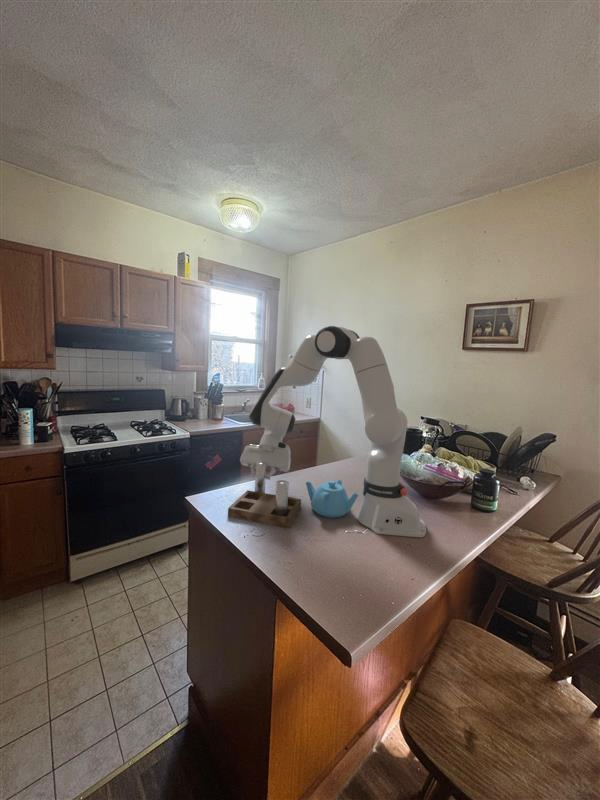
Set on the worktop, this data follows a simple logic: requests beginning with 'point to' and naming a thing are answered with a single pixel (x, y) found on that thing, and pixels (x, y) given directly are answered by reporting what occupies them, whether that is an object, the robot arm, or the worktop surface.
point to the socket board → (263, 509)
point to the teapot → (330, 499)
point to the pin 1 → (260, 477)
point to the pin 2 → (281, 498)
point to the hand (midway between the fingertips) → (260, 477)
